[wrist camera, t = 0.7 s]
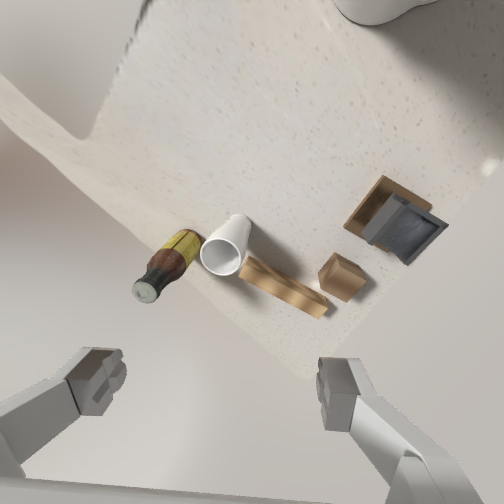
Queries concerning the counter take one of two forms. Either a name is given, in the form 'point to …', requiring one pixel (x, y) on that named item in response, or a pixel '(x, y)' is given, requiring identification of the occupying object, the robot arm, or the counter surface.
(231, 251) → the drinking glass
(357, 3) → the robot arm
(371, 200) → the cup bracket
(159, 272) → the sauce bottle
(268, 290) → the oak rail
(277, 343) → the counter surface
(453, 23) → the counter surface
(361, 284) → the walnut block
